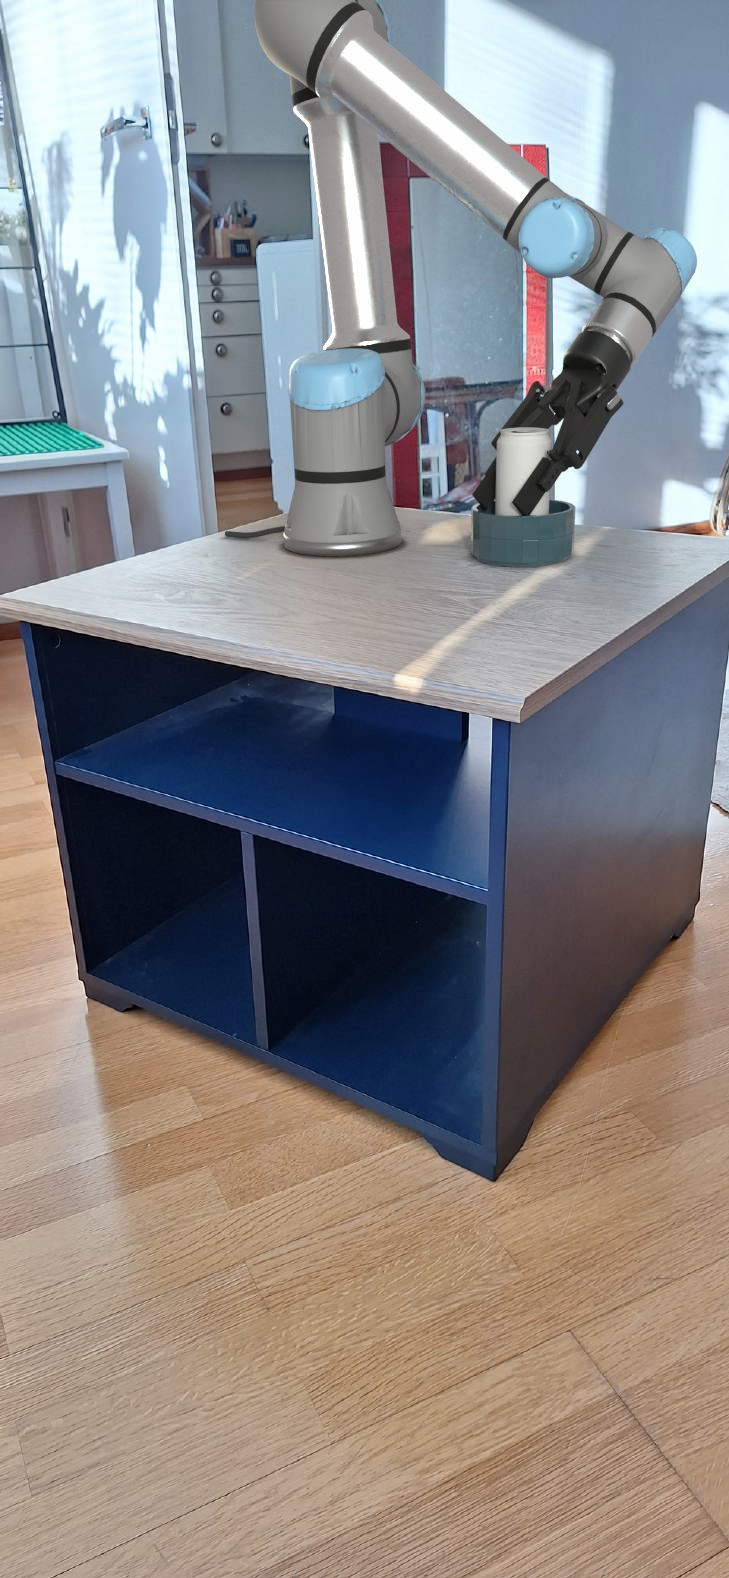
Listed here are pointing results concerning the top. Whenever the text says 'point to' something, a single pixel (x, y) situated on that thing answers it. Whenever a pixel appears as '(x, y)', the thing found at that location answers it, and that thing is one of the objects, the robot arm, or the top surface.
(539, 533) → the bowl
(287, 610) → the top surface
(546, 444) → the beverage can
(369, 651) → the top surface
